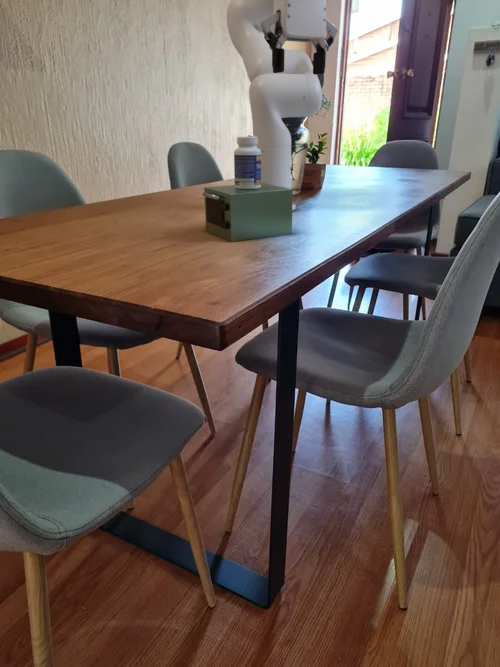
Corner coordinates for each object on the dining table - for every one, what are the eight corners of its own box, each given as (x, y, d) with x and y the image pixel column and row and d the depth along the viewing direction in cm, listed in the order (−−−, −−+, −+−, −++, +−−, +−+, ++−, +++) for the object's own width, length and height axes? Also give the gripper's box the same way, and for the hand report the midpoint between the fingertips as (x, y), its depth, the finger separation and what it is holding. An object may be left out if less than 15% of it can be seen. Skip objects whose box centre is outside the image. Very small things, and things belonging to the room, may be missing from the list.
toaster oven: (200, 231, 108) (198, 187, 104) (262, 224, 115) (262, 182, 111) (225, 242, 98) (224, 194, 95) (291, 234, 105) (292, 189, 101)
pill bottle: (261, 189, 101) (261, 137, 97) (234, 189, 101) (233, 137, 97) (260, 186, 106) (260, 136, 102) (234, 186, 106) (233, 136, 102)
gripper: (326, -20, 102) (322, 75, 109) (251, -30, 95) (252, 73, 101) (350, -28, 96) (344, 73, 103) (272, -40, 88) (271, 70, 95)
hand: (298, 73), depth 102 cm, fingers open, 9 cm apart
